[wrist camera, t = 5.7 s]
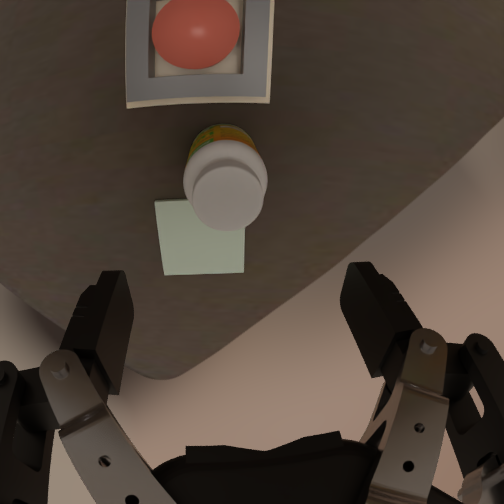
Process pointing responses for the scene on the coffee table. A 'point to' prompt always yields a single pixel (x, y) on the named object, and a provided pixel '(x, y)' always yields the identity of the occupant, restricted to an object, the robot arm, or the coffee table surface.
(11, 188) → the coffee table surface
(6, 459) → the robot arm
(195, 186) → the supplement bottle
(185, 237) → the mat
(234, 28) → the dome button
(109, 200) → the coffee table surface
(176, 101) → the dome console
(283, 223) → the coffee table surface
